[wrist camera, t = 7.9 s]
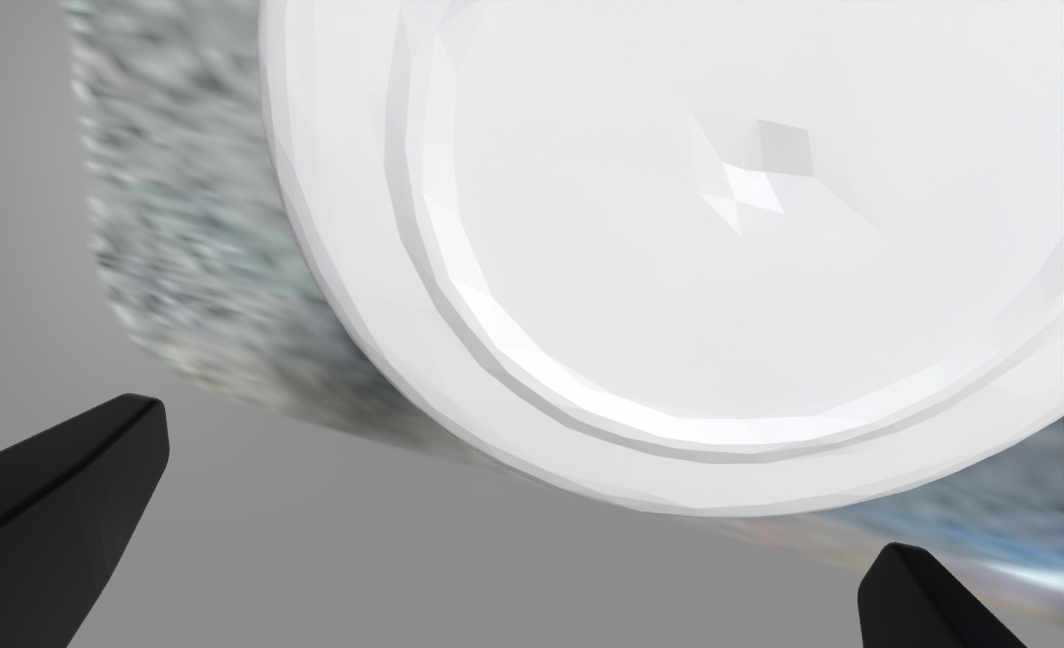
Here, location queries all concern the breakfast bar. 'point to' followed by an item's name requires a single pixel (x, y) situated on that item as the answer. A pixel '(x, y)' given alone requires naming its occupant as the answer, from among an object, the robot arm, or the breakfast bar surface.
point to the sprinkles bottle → (688, 232)
